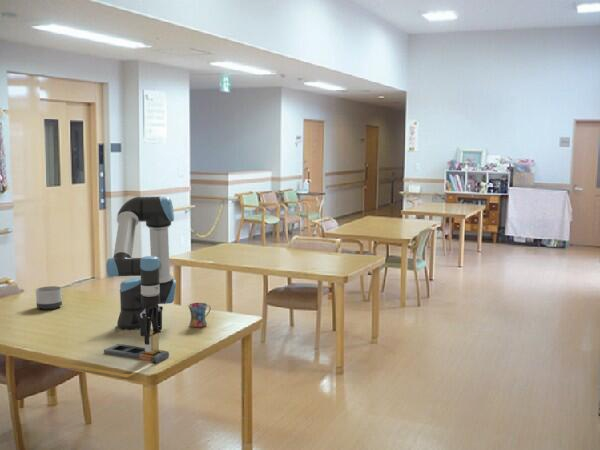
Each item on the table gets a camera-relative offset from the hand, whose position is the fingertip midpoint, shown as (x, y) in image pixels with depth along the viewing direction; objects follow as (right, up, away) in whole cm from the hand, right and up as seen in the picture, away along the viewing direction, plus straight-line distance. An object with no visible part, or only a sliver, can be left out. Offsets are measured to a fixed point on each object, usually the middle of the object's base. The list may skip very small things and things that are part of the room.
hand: (151, 349), depth 259 cm
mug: (+12, +2, +50) cm, 51 cm away
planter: (-75, +6, +83) cm, 112 cm away
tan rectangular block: (0, -2, 0) cm, 2 cm away
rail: (-7, -3, +4) cm, 9 cm away
